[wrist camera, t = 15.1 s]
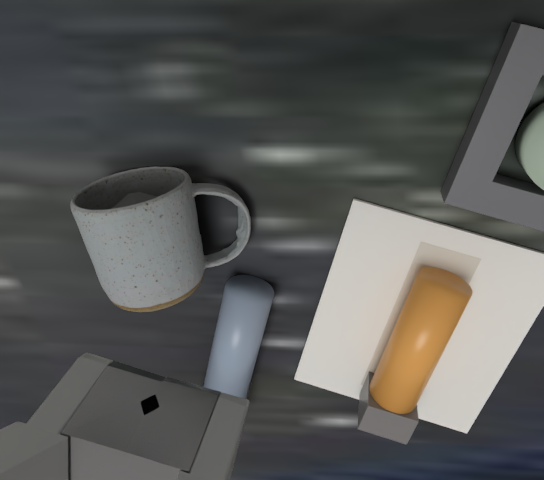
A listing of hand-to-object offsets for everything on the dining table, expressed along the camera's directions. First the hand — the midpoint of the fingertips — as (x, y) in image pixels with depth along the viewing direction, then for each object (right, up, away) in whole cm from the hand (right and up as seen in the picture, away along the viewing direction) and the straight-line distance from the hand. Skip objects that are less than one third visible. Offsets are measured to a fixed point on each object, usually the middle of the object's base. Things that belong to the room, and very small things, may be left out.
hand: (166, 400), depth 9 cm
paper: (+12, -3, +27) cm, 30 cm away
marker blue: (-1, -5, +31) cm, 31 cm away
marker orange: (+12, -4, +27) cm, 30 cm away
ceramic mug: (-5, +5, +27) cm, 28 cm away
